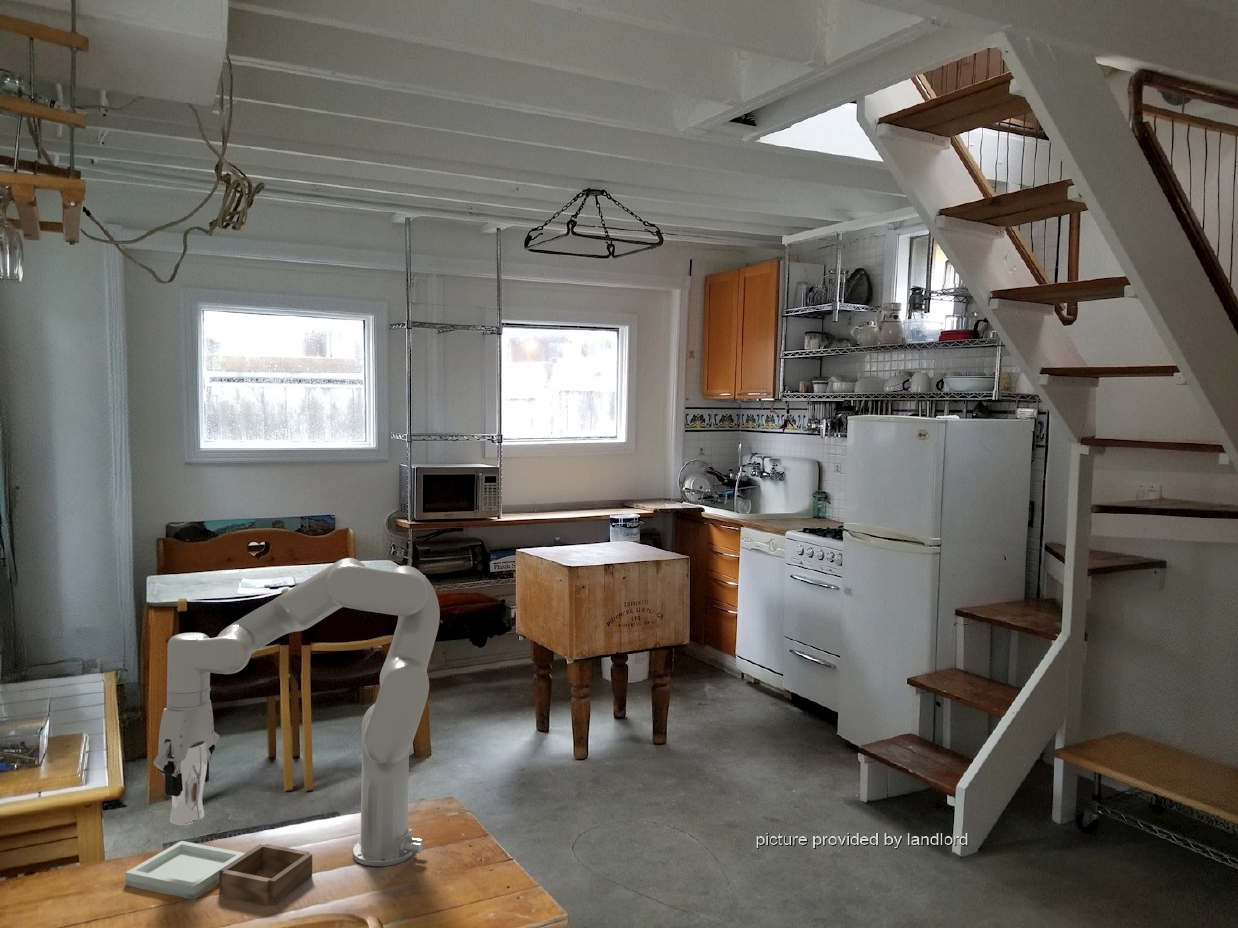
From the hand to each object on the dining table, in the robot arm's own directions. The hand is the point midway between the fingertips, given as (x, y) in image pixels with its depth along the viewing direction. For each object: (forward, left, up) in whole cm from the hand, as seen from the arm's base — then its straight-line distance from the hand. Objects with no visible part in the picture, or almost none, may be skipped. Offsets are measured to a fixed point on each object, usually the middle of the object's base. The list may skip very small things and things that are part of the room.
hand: (187, 786), depth 173 cm
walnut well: (-17, -2, -17) cm, 25 cm away
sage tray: (0, 0, -17) cm, 17 cm away
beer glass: (0, 0, -6) cm, 6 cm away
